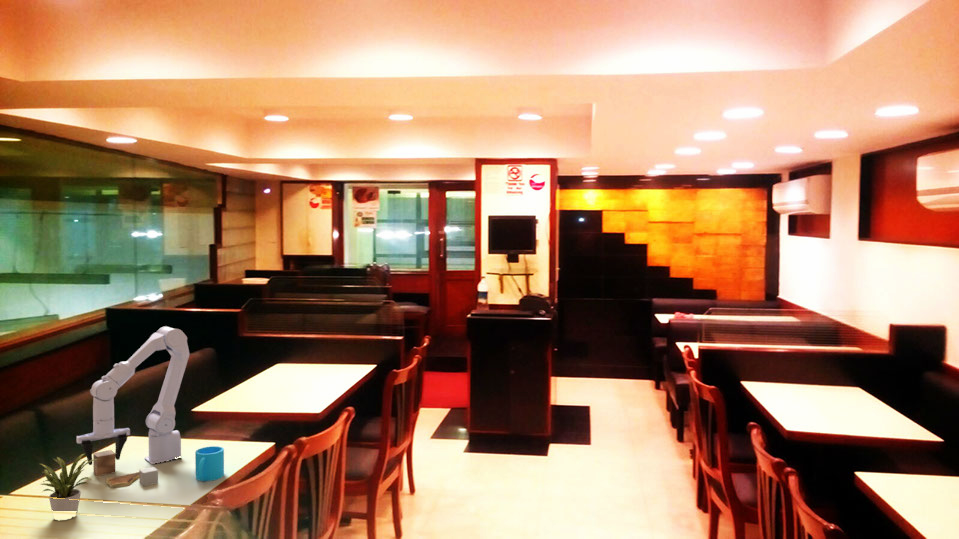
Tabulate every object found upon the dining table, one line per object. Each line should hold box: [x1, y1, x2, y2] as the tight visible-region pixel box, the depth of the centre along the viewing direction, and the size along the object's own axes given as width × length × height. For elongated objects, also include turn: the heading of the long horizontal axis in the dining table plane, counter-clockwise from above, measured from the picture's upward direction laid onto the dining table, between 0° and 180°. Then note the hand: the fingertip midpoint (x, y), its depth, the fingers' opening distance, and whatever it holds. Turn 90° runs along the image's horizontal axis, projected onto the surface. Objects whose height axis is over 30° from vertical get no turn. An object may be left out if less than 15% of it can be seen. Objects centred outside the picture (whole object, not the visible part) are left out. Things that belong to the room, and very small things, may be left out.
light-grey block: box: [138, 466, 159, 487], centre depth 197 cm, size 4×4×4 cm
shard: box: [105, 471, 139, 488], centre depth 198 cm, size 11×8×2 cm
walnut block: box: [92, 449, 116, 477], centre depth 206 cm, size 5×5×6 cm
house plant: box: [40, 452, 97, 512], centre depth 173 cm, size 14×14×16 cm
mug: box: [195, 445, 225, 482], centre depth 201 cm, size 12×8×8 cm
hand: (104, 461), depth 206 cm, fingers open, 7 cm apart
